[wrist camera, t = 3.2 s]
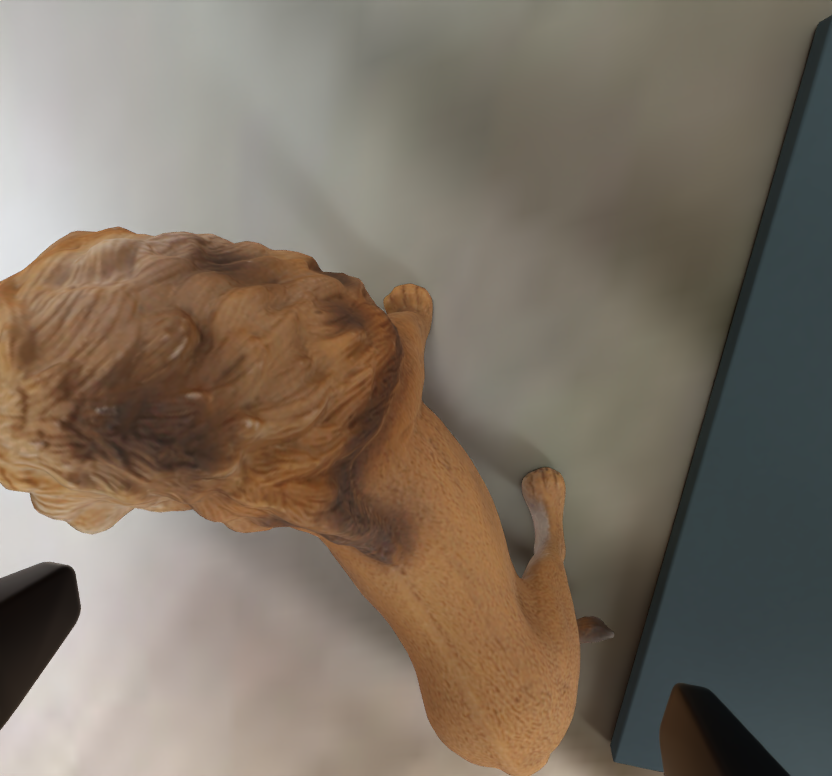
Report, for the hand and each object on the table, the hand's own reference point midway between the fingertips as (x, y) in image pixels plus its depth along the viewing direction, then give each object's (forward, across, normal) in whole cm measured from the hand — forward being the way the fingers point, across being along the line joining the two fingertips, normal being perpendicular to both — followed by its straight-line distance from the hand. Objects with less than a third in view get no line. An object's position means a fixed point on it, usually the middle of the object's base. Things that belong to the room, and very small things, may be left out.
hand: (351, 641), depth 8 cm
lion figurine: (+8, 0, 0) cm, 8 cm away
